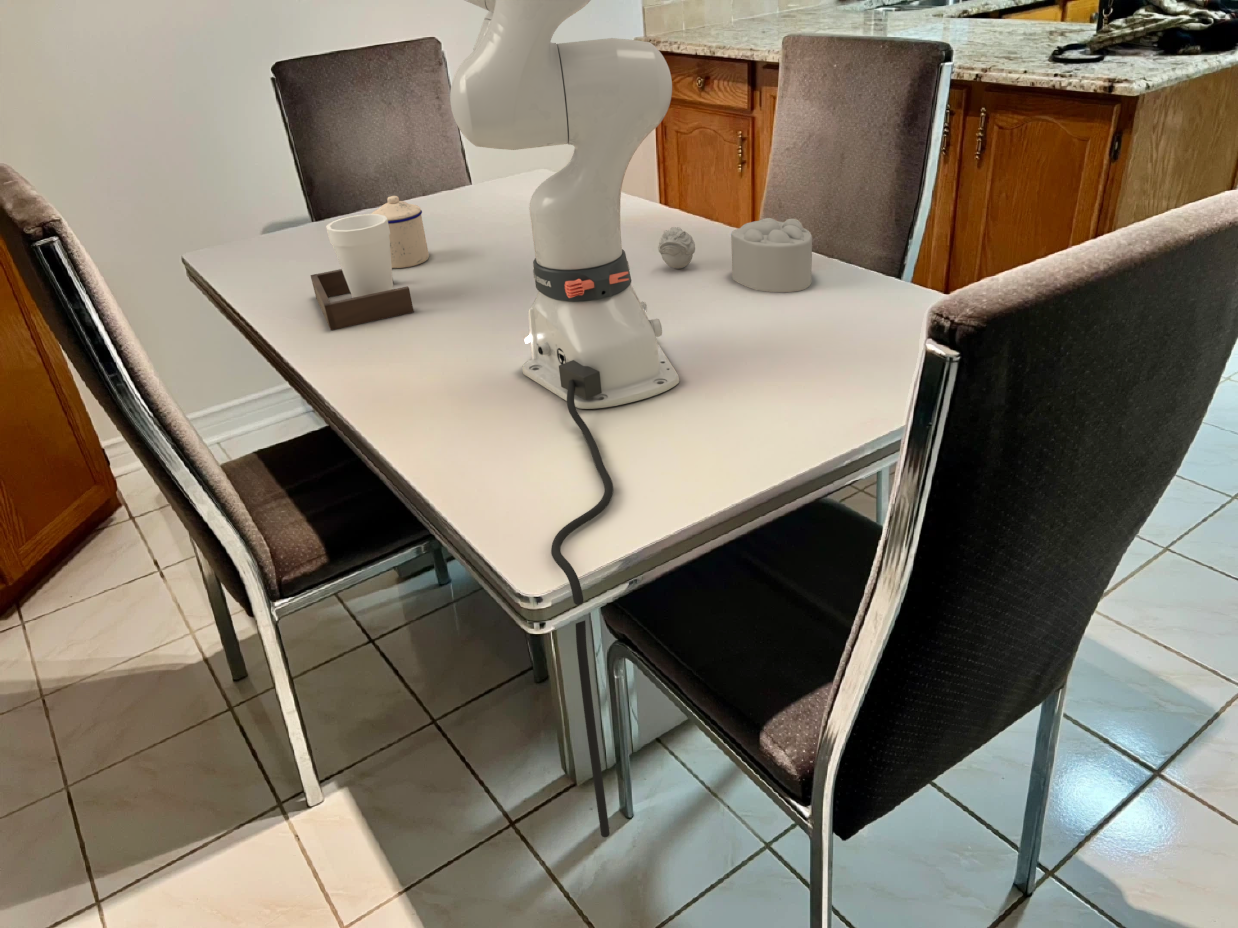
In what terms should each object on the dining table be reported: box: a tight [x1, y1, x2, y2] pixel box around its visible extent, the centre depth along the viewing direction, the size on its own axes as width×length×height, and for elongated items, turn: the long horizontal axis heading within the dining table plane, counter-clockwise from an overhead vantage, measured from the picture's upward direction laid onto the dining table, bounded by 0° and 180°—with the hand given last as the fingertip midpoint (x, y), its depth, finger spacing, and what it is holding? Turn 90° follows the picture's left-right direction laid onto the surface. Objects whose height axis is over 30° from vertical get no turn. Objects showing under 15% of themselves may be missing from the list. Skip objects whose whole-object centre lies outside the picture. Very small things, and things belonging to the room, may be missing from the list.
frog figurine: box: [657, 226, 696, 269], centre depth 153 cm, size 6×7×7 cm
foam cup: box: [325, 213, 394, 298], centre depth 150 cm, size 10×9×13 cm
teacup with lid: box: [371, 195, 430, 269], centre depth 168 cm, size 12×9×12 cm
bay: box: [310, 268, 415, 331], centre depth 151 cm, size 17×13×4 cm
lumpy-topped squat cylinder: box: [730, 217, 813, 293], centre depth 145 cm, size 10×13×9 cm
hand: (471, 139), depth 146 cm, fingers closed
